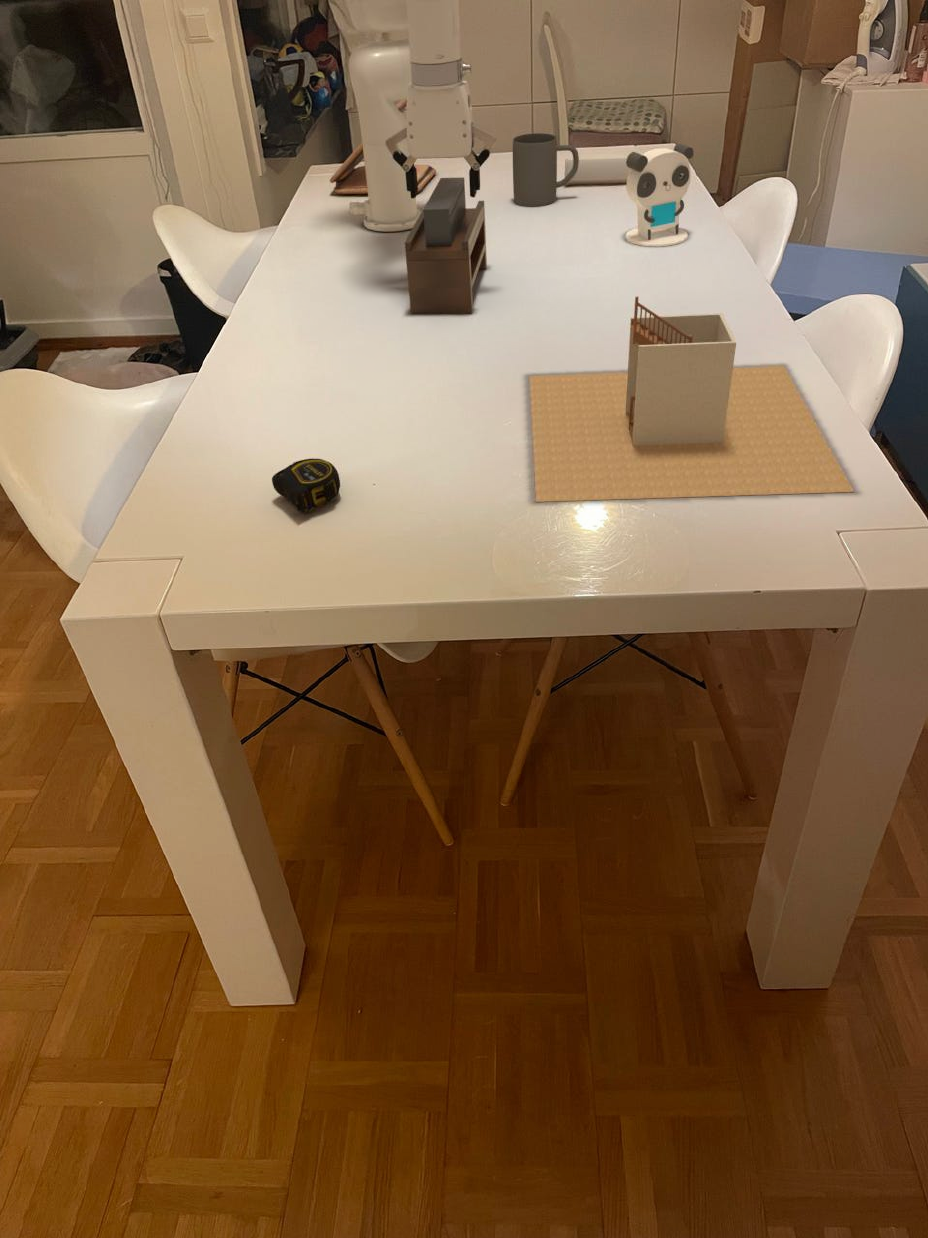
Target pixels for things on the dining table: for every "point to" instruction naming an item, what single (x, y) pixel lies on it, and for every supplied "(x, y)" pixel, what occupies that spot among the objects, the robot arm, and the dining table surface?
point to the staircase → (677, 423)
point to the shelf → (446, 266)
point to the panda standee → (658, 194)
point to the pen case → (444, 212)
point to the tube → (598, 171)
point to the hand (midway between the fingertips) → (443, 195)
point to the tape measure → (307, 483)
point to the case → (355, 178)
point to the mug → (538, 168)
